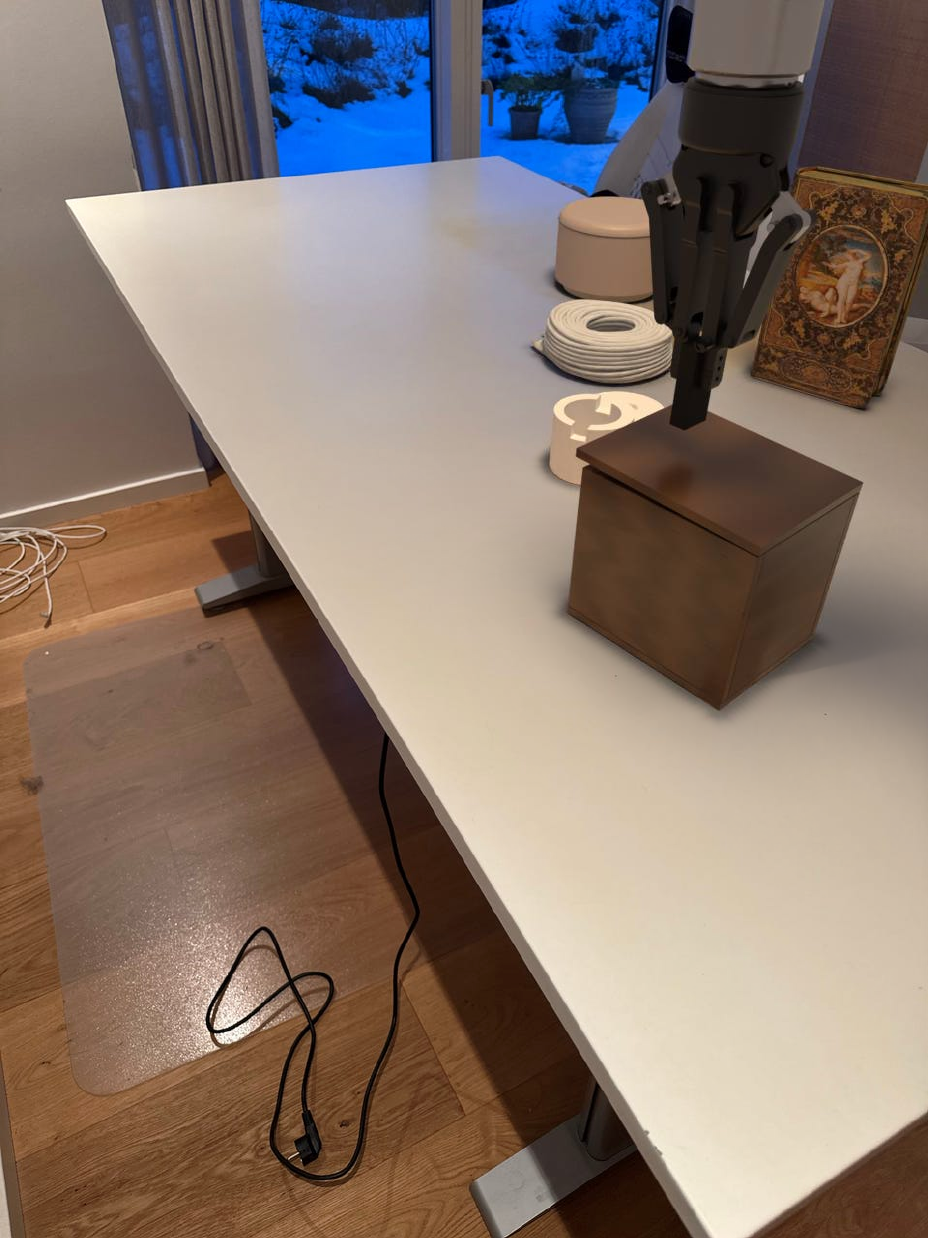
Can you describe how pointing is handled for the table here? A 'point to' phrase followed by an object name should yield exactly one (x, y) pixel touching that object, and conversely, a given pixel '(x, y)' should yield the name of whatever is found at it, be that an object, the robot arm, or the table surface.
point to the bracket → (591, 425)
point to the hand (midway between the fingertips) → (687, 421)
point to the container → (605, 249)
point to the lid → (722, 477)
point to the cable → (606, 341)
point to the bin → (697, 588)
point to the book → (845, 286)
